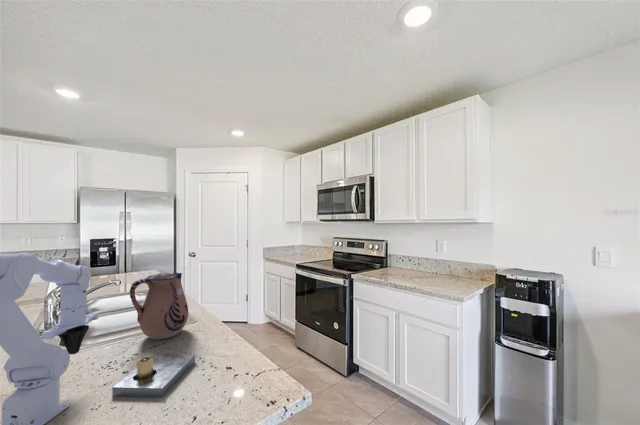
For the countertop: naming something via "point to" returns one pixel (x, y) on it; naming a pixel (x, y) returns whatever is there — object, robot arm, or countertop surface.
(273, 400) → the countertop surface
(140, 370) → the slip bushing
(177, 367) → the plate
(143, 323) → the ceramic pitcher
